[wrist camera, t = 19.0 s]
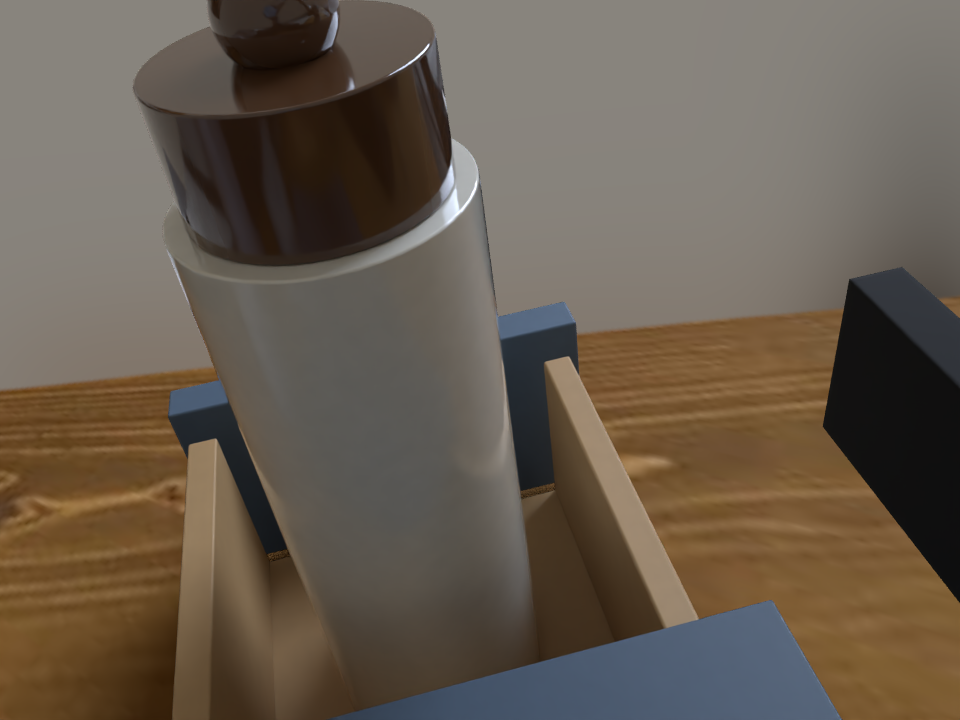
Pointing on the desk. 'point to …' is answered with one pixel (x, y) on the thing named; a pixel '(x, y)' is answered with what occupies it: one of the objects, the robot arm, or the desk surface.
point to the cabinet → (646, 679)
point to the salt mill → (352, 327)
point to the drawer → (548, 522)
